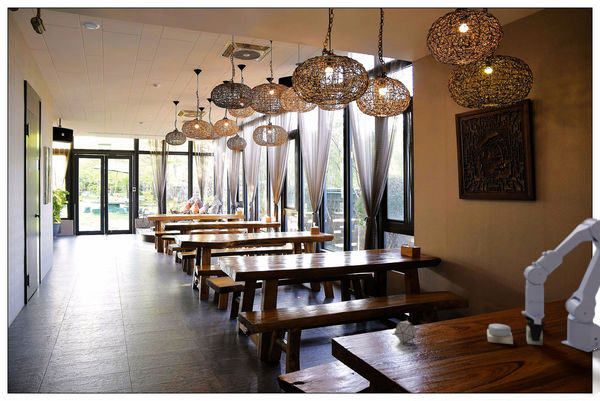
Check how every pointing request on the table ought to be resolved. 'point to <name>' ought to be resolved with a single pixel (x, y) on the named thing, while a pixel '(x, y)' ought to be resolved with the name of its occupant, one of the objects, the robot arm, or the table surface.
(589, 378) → the table surface
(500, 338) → the birch slab
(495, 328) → the grey puck
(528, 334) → the sage cube
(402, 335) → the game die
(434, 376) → the table surface
